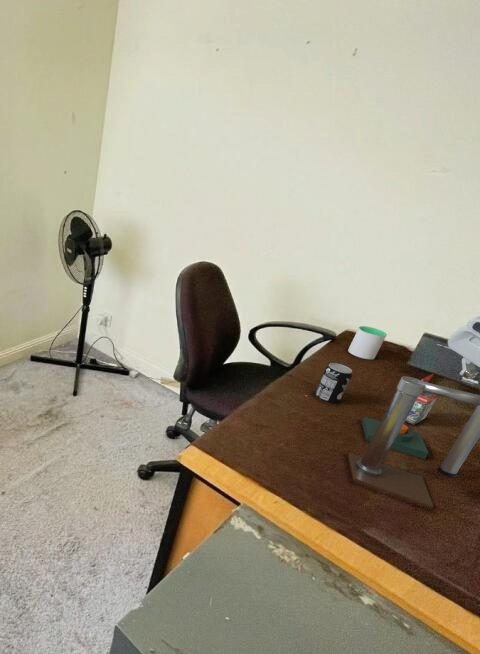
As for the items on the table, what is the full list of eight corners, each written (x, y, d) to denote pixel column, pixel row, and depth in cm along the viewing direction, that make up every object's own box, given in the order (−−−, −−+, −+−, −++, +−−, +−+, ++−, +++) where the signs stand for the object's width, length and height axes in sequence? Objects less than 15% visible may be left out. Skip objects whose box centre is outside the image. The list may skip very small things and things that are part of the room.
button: (404, 428, 116) (406, 424, 115) (406, 435, 113) (409, 430, 113) (386, 423, 118) (389, 419, 117) (389, 430, 115) (391, 425, 115)
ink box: (425, 418, 126) (450, 379, 120) (414, 425, 123) (438, 385, 117) (410, 411, 129) (432, 372, 123) (398, 418, 126) (421, 378, 120)
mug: (354, 344, 169) (365, 322, 165) (380, 352, 163) (391, 330, 159) (345, 352, 163) (356, 329, 159) (371, 361, 157) (383, 337, 153)
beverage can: (336, 396, 136) (351, 366, 131) (340, 407, 131) (356, 375, 126) (312, 390, 139) (325, 360, 134) (315, 400, 134) (329, 369, 129)
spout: (453, 470, 96) (499, 396, 88) (458, 481, 93) (506, 406, 85) (365, 442, 104) (400, 373, 96) (367, 452, 102) (404, 380, 93)
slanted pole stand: (419, 481, 103) (469, 397, 93) (430, 511, 95) (487, 422, 85) (347, 457, 111) (386, 377, 101) (352, 482, 103) (395, 398, 92)
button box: (416, 438, 118) (422, 427, 116) (425, 459, 110) (431, 447, 109) (361, 422, 124) (366, 411, 123) (366, 440, 117) (371, 429, 115)
